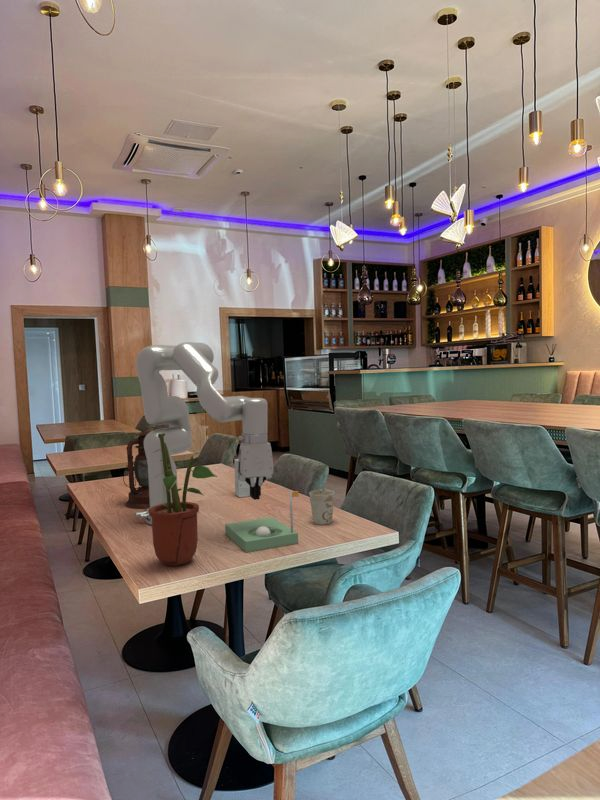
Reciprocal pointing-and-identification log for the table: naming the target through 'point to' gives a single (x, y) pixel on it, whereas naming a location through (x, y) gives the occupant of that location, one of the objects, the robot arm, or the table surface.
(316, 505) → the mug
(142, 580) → the table surface
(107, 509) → the table surface
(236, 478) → the skincare box
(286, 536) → the putting mat
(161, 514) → the potted plant
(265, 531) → the ball
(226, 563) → the table surface
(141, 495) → the lantern
